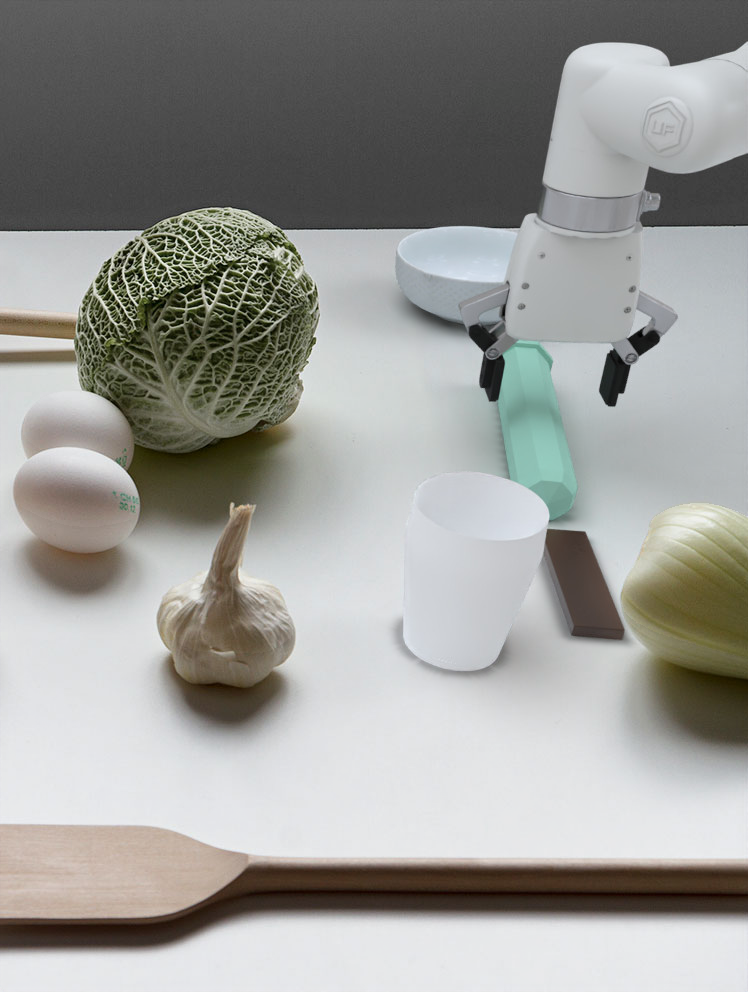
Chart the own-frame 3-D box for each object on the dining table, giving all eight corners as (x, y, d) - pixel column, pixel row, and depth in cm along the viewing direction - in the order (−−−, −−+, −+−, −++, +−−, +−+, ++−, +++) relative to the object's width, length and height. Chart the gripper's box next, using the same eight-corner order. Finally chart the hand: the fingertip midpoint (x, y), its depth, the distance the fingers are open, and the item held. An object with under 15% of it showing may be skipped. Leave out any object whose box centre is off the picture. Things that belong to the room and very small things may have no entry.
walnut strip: (582, 543, 104) (585, 530, 104) (621, 643, 93) (625, 630, 93) (536, 539, 105) (540, 527, 104) (570, 639, 94) (574, 625, 93)
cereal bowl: (481, 273, 152) (493, 215, 148) (582, 329, 138) (597, 267, 135) (357, 295, 147) (366, 236, 143) (449, 355, 133) (462, 291, 130)
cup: (401, 594, 99) (427, 459, 92) (525, 627, 95) (561, 488, 89) (372, 662, 92) (397, 521, 85) (504, 700, 88) (541, 556, 82)
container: (579, 465, 103) (545, 330, 123) (501, 481, 105) (481, 346, 125) (593, 525, 105) (558, 383, 125) (517, 540, 107) (494, 398, 128)
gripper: (688, 194, 106) (642, 383, 115) (469, 190, 109) (439, 375, 117) (717, 224, 100) (665, 421, 108) (483, 219, 102) (451, 412, 111)
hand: (548, 397), depth 113 cm, fingers open, 9 cm apart
